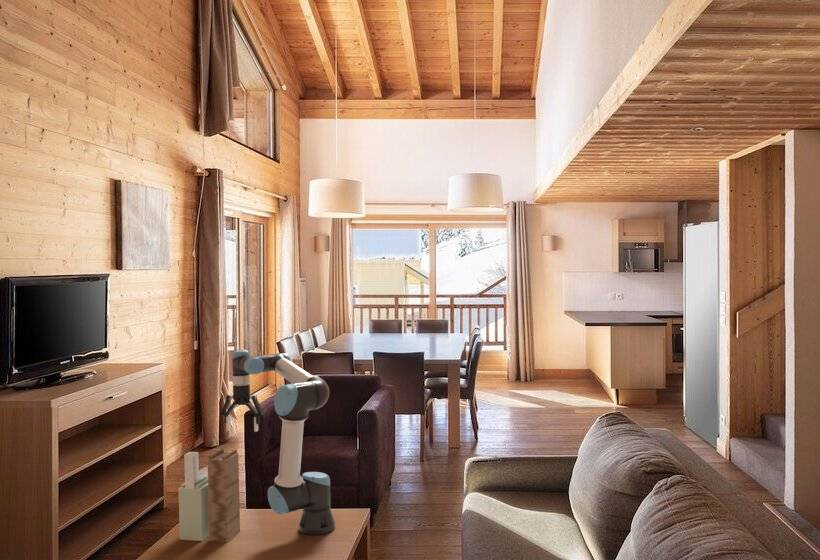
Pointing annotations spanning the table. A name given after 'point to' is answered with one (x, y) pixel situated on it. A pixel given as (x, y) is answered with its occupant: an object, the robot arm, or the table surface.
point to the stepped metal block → (193, 470)
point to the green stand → (194, 512)
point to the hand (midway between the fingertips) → (242, 430)
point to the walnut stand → (223, 496)
